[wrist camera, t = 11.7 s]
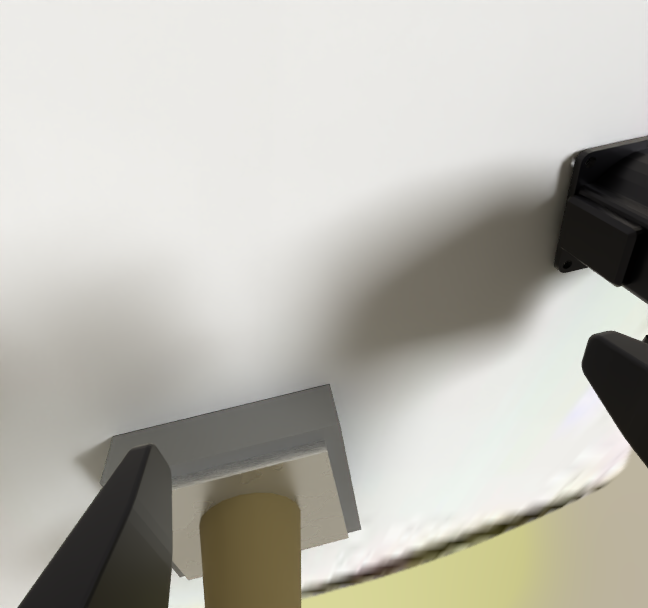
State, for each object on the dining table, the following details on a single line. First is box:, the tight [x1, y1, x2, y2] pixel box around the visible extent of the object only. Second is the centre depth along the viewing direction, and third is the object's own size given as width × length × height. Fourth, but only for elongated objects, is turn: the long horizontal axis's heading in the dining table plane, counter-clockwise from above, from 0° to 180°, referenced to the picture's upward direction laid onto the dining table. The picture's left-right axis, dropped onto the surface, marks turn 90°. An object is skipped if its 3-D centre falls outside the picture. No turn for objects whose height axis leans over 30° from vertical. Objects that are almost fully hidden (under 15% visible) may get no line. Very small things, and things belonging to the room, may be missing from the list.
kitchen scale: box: [100, 384, 361, 580], centre depth 27 cm, size 13×12×4 cm
